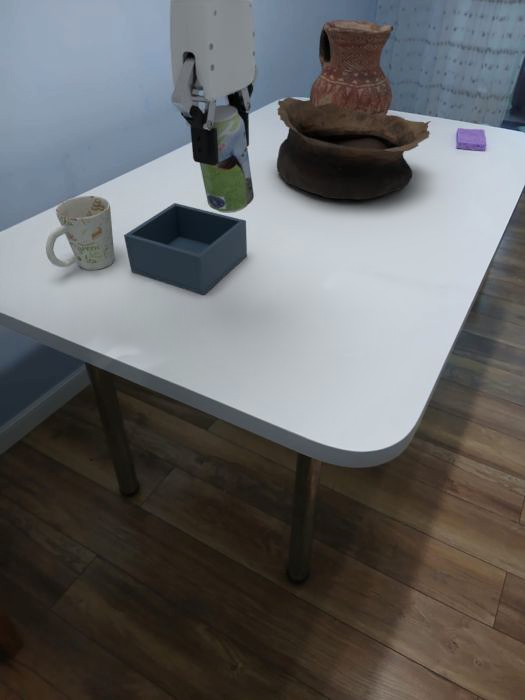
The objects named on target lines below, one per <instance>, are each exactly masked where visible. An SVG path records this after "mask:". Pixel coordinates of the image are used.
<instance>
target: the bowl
mask: <svg viewBox="0 0 525 700" xmlns="http://www.w3.org/2000/svg"><path fill="white" fill-rule="evenodd" d="M277 104H278V106H279V107H278V108H277V109H276V110H277V115H278V116H279V120H280V121H282V122H283V123H284V124H285V127H287V128H288V133H287V137H286V138H285V139H284V140H283V141H282V142H281V144H280V146H279V149H278V155H277V159H276V171H277V173H278V174H279V175H281V176H282V178H283V180H284V181H285V182H286V183H288V184H290V185H292V186H293V187H296V188H299V189H300V190H304V191H306V192H308V193H312V194H316V195H319V196H322V197H324V198H327V199H340V200H341V199H342V200H343V199H345V200H346V199H347V200H349V199H350V200H369V199H373V198H377V197H380V196H384V195H386V194H387V195H388V194H390V193H392V192H396V191H399V189H403V188H405V187H406V186H408V184H410V182H411V180H412V179H413V178H412V177H413V170H412V168H411V166H410V165H409V164H408V162H407V160H406V159H405V158H404V153H405V152H408V151H411V150H413V149H415V148H417V147H419V146H420V145H419V143H422V142H423V141H425V140H427V139H429V138H430V134H431V132H430V131H429V130H428V129H429V124H430V123H431V122H432V121H431V120H429V121H427V122H423V121H415V120H409V119H405V118H404V117H402V116H400V115H399V116H398V115H393V114H384V113H381V114H378V115H375V116H369V115H368V114H367V113H365V112H364V111H363V110H354V109H353V108H349V109H344V110H341V107H340V106H338V105H336V104H333V103H328V104H325V105H321V106H317V107H315V105H314V104H313V103H312V102H311V101H310V99H307V100H301V99H297V98H293V97H291V96H289V97H285V98H284V99H283V100H278V102H277Z"/></svg>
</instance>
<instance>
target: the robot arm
mask: <svg viewBox="0 0 525 700" xmlns="http://www.w3.org/2000/svg"><path fill="white" fill-rule="evenodd" d="M169 2H170V4H169V44H170V63H171V78H172V86H173V91H172V94H171V103H172V104H173V105H174V107H175V108H176V109H177V110H178V111H179V112H180V115H181V116H182V117H183V119H184V120H185V124H186V126H187V127H189V129H190V138H191V149H192V160H193V161H194V162H196V163H199V164H200V163H203V164H208V165H213V166H215V165H217V164H218V162H219V160H218V141H217V128H212V127H213V120H214V113H215V106H217V101H218V100H219V99H221V98H222V99H223V98H224V101H225V105H227V106H233V107H235V108H236V109H237V111H238V114H239V115H240V116H241V117H242V119H243V121H244V126H245V133H246V141H247V148H248V147H249V146H250V121H249V120H250V119H249V118H250V117H249V116H250V115H249V114H250V113H249V112H250V111H251V108H252V103H251V98H252V95H253V92H254V85H255V82H256V80H257V77H258V74H259V68H258V67H257V65H256V35H255V34H256V33H255V19H254V7H253V6H254V5H253V0H170V1H169ZM201 91H203V95H201V94H200V92H201ZM199 103H201V104H205V105H204V109H205V111H204V113H203V112H202V111H201V110H202V109H201V108H200V107H199V106H200V105H199Z"/></svg>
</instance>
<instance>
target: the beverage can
mask: <svg viewBox="0 0 525 700" xmlns="http://www.w3.org/2000/svg"><path fill="white" fill-rule="evenodd" d="M200 110H201V111H202V112H203V113H204V111H205V108H203V109H200ZM212 128H217V141H218V160H219V162H218V164H217V165H215V166H213V165H208V164H203V163H199V166H200V171H201V176H202V181H203V186H204V191H205V195H206V196H205V197H206V201H207V204H208V206H209V207H210V208H211V209H213V210H215V211H217V212H219V213H223V214H232V213H237V212H240V211H243V210H244V209H245V208H246V207H248V205H250V204H251V203H252V201H254V199H255V195H254V188H253V180H252V172H251V164H250V157H249V150H248V147H247V141H246V133H245V126H244V121H243V119H242V117H241V116H240V115H239V114H238V111H237V109H236V108H235V107H233V106H227V105H226V104H223V105H216V106H215V113H214V120H213V127H212Z"/></svg>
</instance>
